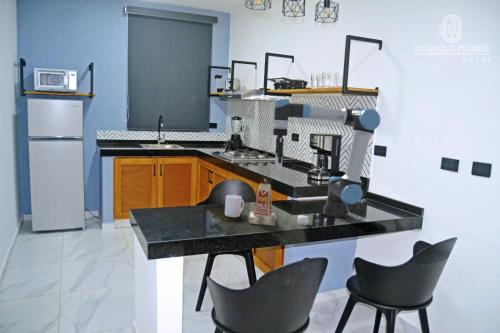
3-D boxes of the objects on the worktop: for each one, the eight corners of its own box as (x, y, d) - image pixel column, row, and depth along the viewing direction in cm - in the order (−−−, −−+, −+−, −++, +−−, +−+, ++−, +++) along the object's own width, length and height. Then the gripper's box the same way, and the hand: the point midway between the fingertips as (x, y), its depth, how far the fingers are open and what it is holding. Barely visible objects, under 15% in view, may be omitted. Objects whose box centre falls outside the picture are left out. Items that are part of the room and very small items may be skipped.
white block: (307, 222, 225) (308, 215, 224) (308, 225, 219) (309, 218, 219) (296, 222, 225) (297, 214, 225) (297, 225, 219) (298, 217, 219)
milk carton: (269, 217, 216) (273, 179, 213) (252, 215, 217) (255, 178, 215) (272, 213, 225) (275, 177, 222) (255, 211, 226) (258, 175, 224)
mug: (248, 215, 230) (249, 197, 228) (230, 218, 222) (232, 198, 221) (238, 212, 236) (239, 194, 235) (221, 214, 229) (222, 195, 227)
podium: (274, 218, 228) (274, 212, 228) (275, 225, 214) (276, 219, 214) (249, 216, 228) (249, 210, 228) (248, 223, 214) (249, 217, 214)
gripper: (272, 126, 233) (270, 164, 236) (275, 128, 209) (272, 170, 211) (285, 127, 233) (283, 164, 236) (289, 129, 209) (287, 171, 211)
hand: (278, 167), depth 224 cm, fingers open, 13 cm apart
